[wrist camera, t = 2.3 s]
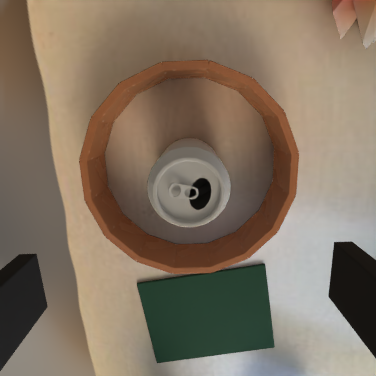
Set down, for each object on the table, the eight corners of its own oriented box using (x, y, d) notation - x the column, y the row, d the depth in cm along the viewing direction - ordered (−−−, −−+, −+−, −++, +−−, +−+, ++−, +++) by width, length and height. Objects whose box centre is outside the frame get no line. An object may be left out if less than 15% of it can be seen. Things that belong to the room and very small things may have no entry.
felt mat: (264, 263, 38) (265, 265, 37) (273, 345, 41) (274, 347, 41) (137, 282, 39) (136, 284, 38) (157, 360, 42) (156, 363, 42)
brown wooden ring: (284, 67, 31) (306, 56, 25) (275, 246, 37) (290, 271, 31) (88, 74, 32) (65, 65, 26) (109, 251, 37) (94, 276, 32)
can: (211, 201, 35) (222, 242, 24) (154, 189, 35) (137, 226, 23) (225, 144, 34) (243, 159, 22) (165, 131, 33) (152, 140, 22)
